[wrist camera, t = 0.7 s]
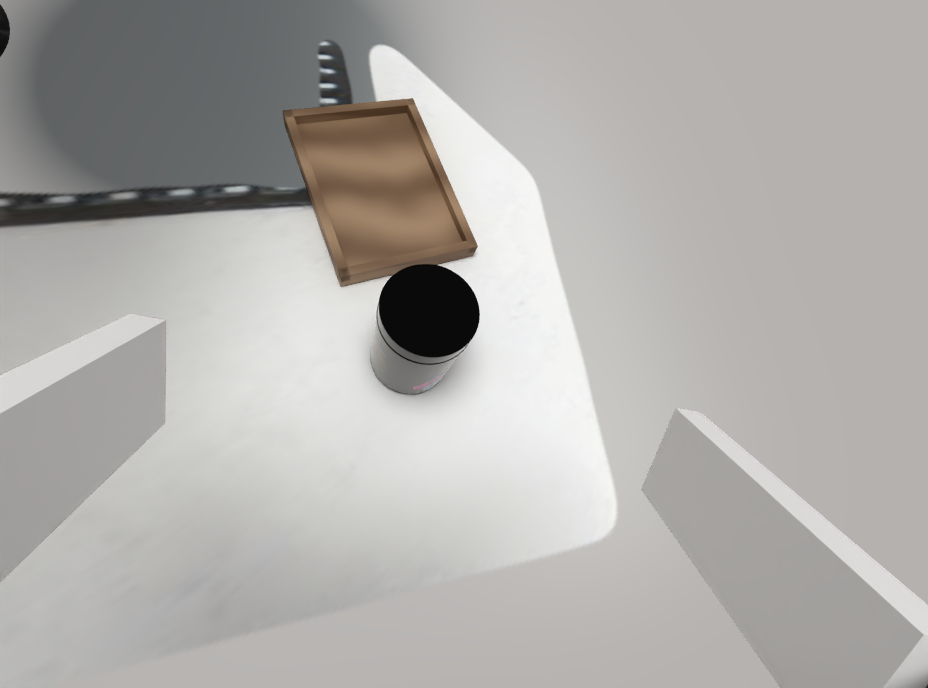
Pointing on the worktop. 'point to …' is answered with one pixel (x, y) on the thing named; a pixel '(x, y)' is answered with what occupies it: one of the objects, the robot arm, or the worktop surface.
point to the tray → (377, 188)
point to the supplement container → (421, 327)
